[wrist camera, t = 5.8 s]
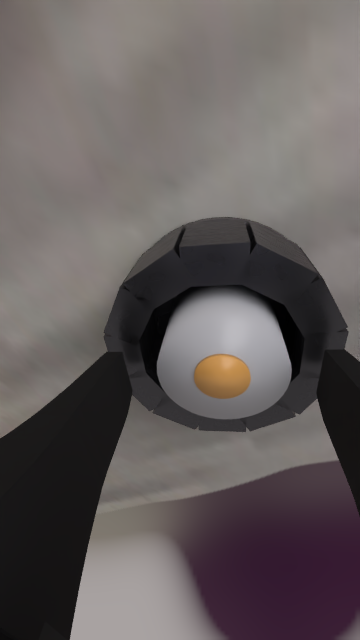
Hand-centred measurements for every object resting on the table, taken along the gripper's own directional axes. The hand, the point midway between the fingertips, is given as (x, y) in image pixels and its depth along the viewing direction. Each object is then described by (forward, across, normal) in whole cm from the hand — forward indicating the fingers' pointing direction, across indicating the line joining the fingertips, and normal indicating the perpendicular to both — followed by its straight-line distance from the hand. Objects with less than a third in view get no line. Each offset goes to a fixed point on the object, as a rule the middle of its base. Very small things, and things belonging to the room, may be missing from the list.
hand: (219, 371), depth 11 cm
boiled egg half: (+4, 0, 0) cm, 4 cm away
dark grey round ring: (+4, 0, 0) cm, 4 cm away
